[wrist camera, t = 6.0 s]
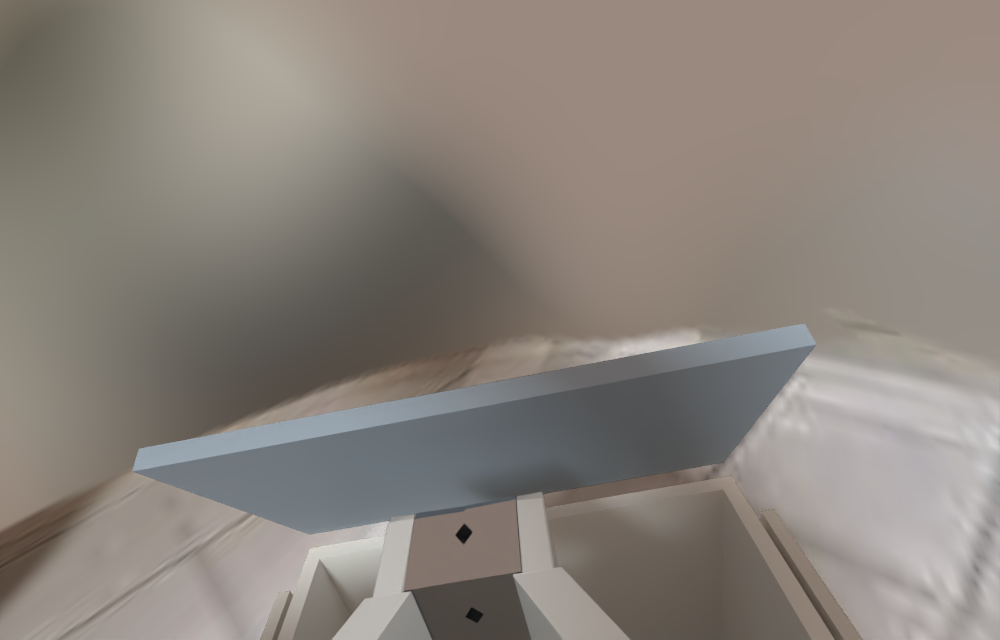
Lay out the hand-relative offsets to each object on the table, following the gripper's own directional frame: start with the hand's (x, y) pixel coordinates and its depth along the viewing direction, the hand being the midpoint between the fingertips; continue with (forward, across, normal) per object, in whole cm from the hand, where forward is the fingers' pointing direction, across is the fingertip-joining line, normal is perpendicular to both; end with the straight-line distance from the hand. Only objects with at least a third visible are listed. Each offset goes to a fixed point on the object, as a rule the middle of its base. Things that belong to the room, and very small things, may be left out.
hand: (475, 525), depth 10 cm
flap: (+3, 0, +2) cm, 4 cm away
